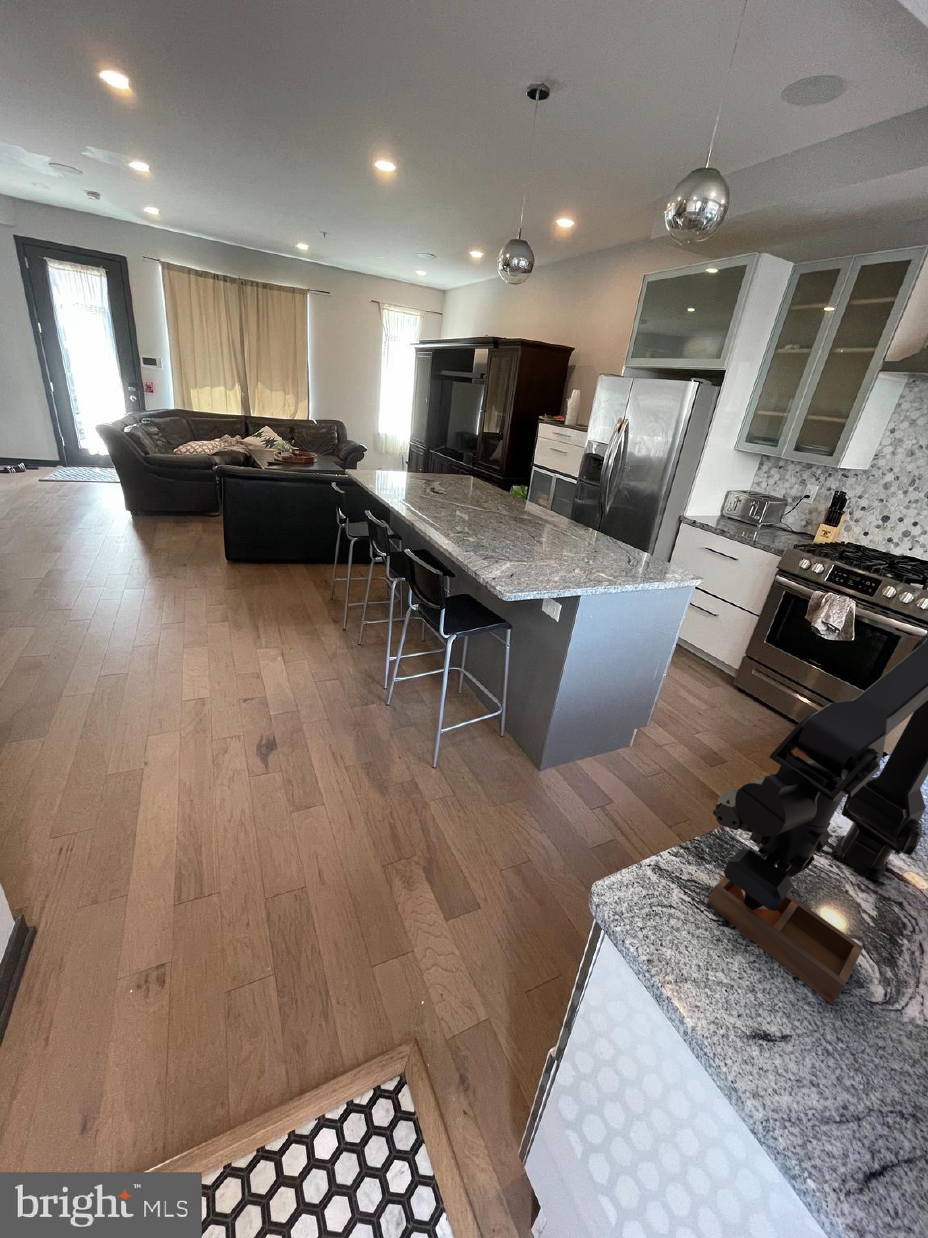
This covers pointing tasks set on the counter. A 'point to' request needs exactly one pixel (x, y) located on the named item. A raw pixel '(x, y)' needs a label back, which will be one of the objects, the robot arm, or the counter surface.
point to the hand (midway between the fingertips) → (756, 897)
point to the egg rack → (792, 938)
